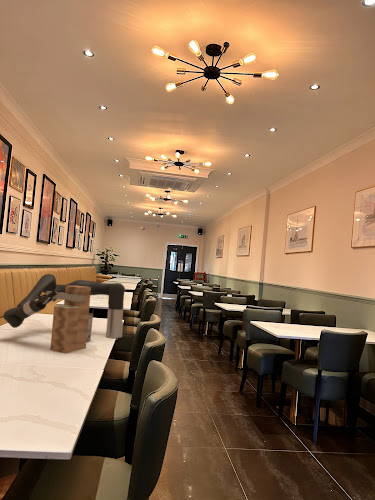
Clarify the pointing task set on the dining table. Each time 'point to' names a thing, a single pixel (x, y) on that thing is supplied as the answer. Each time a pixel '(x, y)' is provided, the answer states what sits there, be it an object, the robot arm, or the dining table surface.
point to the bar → (67, 296)
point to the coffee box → (89, 327)
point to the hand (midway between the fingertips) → (57, 292)
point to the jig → (71, 322)
